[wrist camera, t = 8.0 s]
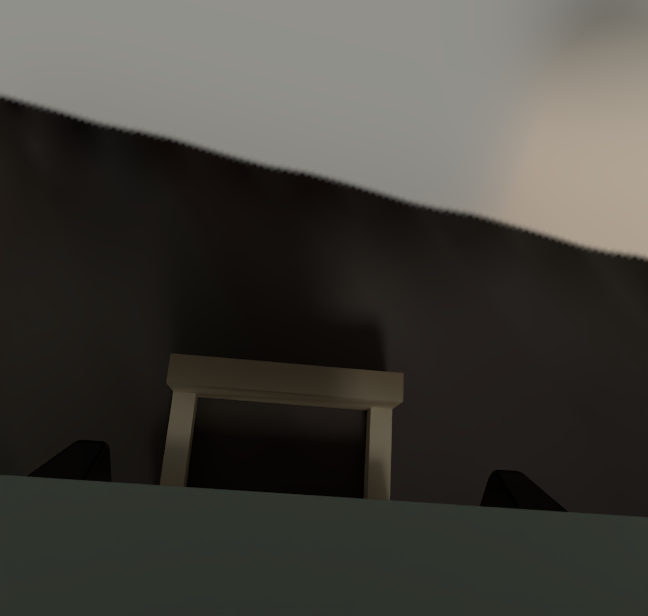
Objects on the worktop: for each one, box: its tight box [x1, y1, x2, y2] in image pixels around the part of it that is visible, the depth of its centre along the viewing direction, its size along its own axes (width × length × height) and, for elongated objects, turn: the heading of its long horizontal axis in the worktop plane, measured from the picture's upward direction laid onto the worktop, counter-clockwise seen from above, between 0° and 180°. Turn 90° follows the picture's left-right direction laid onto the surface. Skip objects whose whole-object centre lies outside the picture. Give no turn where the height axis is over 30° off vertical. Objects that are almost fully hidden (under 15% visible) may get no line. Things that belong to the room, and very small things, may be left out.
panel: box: [0, 475, 648, 616], centre depth 8 cm, size 2×6×12 cm, turn 86°
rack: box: [160, 353, 404, 500], centre depth 19 cm, size 13×8×2 cm, turn 176°
